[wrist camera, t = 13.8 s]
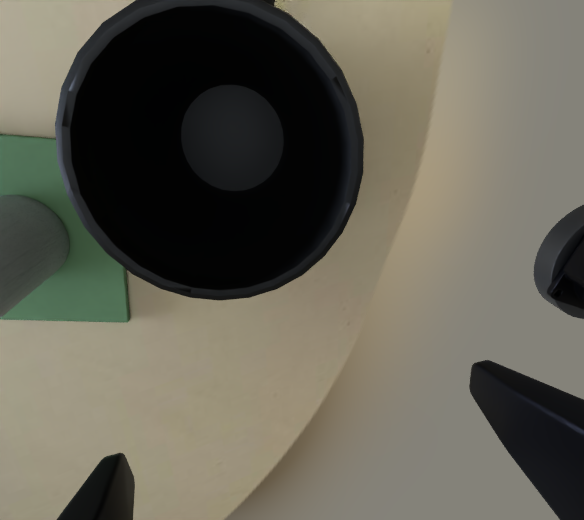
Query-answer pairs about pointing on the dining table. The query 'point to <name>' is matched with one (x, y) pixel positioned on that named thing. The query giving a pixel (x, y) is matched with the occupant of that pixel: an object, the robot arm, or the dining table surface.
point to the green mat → (82, 246)
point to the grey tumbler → (28, 247)
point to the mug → (209, 145)
